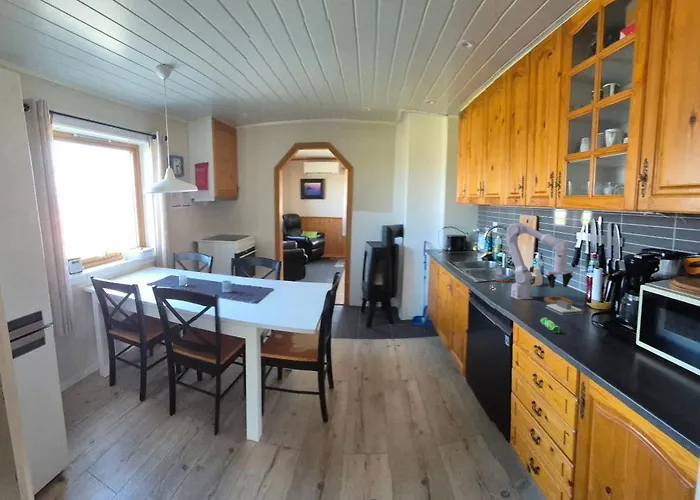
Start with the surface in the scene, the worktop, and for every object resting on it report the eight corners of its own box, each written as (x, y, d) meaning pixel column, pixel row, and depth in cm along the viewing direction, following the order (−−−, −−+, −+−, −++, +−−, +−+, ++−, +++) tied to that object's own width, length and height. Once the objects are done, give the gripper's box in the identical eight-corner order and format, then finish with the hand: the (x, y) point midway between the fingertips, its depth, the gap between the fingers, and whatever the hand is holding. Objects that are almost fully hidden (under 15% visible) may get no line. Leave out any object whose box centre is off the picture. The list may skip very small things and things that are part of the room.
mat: (561, 315, 171) (561, 314, 171) (545, 307, 183) (545, 307, 183) (583, 313, 173) (583, 313, 173) (565, 306, 185) (565, 305, 184)
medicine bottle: (525, 284, 232) (526, 266, 230) (533, 282, 234) (534, 265, 232) (534, 286, 225) (535, 268, 223) (542, 285, 228) (543, 267, 226)
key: (490, 290, 219) (497, 290, 218) (490, 289, 219) (497, 289, 218) (488, 286, 231) (495, 286, 229) (488, 284, 230) (495, 284, 229)
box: (556, 306, 184) (556, 302, 184) (543, 301, 194) (544, 297, 194) (573, 305, 186) (573, 301, 185) (559, 300, 195) (560, 296, 195)
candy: (563, 331, 149) (558, 324, 149) (556, 336, 150) (551, 328, 150) (549, 322, 161) (544, 315, 161) (542, 325, 162) (538, 319, 161)
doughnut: (500, 278, 249) (500, 272, 247) (512, 281, 240) (513, 275, 239) (491, 281, 244) (491, 275, 243) (503, 285, 235) (503, 278, 234)
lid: (561, 314, 172) (562, 306, 171) (546, 307, 183) (547, 299, 182) (581, 312, 173) (582, 304, 173) (565, 305, 184) (565, 298, 183)
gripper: (552, 265, 181) (551, 290, 183) (578, 263, 183) (576, 288, 185) (544, 262, 188) (542, 286, 190) (568, 261, 189) (566, 285, 192)
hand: (558, 287), depth 188 cm, fingers open, 7 cm apart
